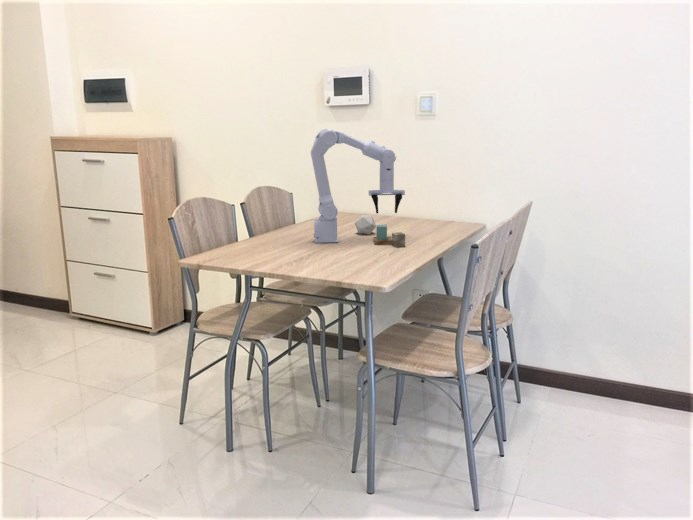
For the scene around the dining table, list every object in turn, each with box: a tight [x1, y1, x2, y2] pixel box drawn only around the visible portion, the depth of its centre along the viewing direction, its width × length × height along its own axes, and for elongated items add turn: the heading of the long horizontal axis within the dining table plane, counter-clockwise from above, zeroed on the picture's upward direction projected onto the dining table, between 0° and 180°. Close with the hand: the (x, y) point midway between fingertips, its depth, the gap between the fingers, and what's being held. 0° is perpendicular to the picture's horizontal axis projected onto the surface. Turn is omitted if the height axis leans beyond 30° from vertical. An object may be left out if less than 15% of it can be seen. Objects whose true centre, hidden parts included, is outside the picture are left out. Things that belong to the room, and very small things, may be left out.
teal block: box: [375, 224, 388, 239], centre depth 230 cm, size 4×4×5 cm
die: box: [354, 214, 377, 236], centre depth 249 cm, size 8×9×10 cm
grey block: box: [391, 231, 406, 248], centre depth 225 cm, size 4×4×5 cm
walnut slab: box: [373, 236, 392, 246], centre depth 231 cm, size 7×7×2 cm
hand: (386, 212), depth 238 cm, fingers open, 7 cm apart
